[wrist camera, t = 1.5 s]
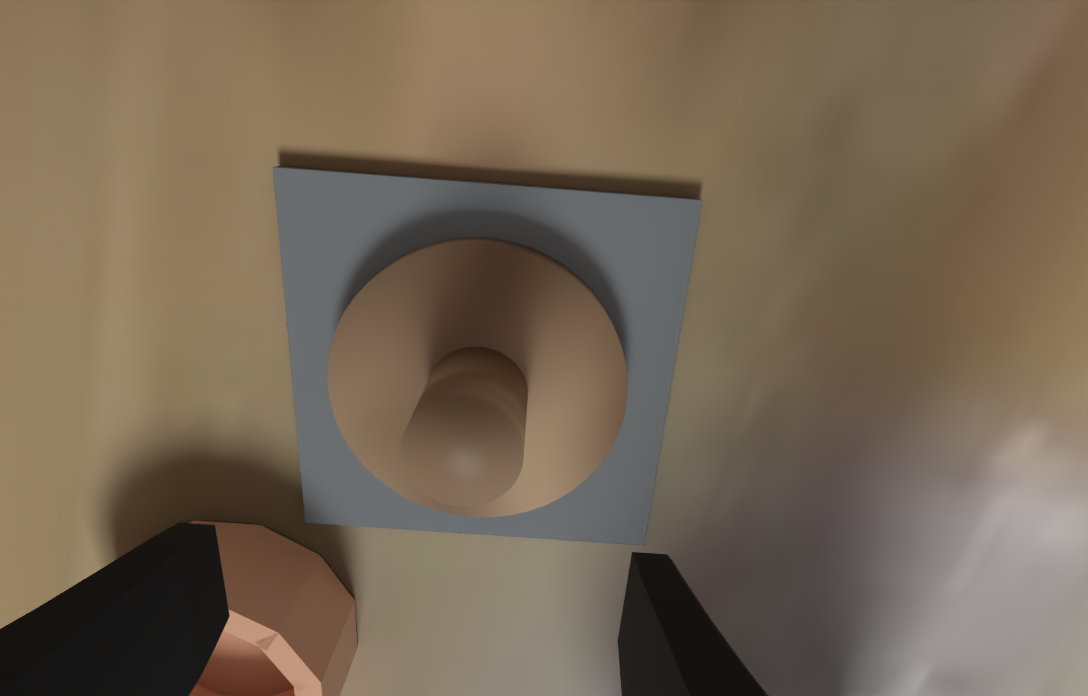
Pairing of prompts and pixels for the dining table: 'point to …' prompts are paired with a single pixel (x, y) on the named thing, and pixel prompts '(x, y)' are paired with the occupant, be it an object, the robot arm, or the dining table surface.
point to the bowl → (278, 619)
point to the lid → (478, 378)
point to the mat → (500, 213)
